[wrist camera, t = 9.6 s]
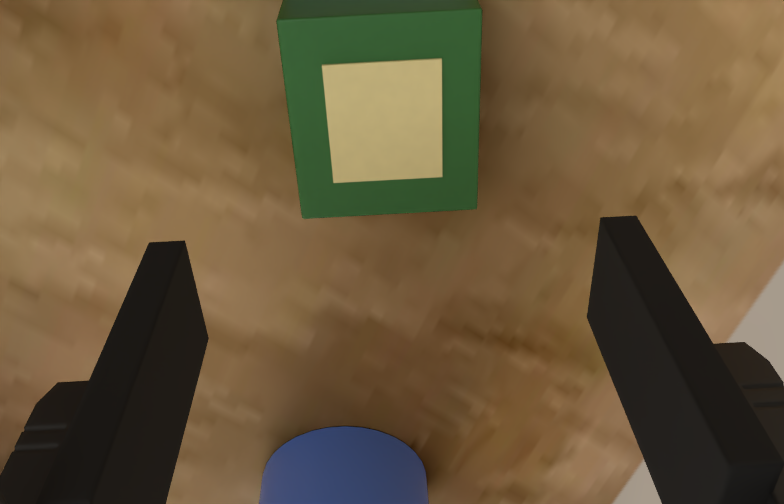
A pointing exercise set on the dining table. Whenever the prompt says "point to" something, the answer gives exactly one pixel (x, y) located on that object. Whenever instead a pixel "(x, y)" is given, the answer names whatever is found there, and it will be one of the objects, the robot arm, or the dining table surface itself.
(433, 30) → the green carton
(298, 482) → the water bottle
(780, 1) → the dining table surface
